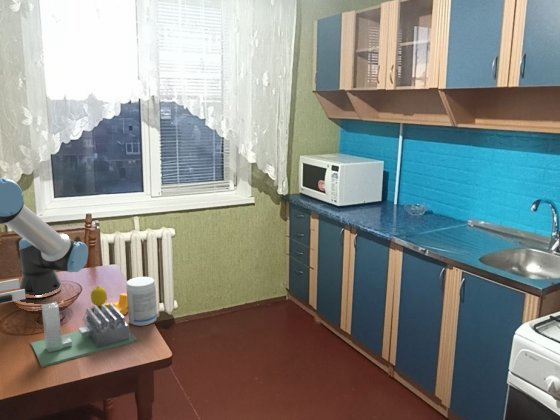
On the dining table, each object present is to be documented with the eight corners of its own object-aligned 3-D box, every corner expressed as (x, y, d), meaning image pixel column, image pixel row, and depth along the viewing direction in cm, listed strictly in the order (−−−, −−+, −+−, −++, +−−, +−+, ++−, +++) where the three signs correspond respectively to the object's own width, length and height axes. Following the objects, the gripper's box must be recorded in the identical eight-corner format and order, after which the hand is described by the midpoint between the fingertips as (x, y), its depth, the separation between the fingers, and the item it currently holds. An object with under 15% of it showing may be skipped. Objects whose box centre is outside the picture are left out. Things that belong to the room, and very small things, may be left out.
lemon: (107, 302, 185) (106, 282, 183) (107, 308, 180) (106, 288, 178) (91, 304, 184) (90, 284, 182) (91, 310, 178) (89, 289, 177)
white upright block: (45, 347, 150) (41, 304, 147) (69, 341, 154) (66, 299, 151) (48, 352, 147) (44, 309, 144) (72, 346, 151) (69, 304, 148)
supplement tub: (162, 318, 173) (161, 279, 170) (143, 329, 165) (141, 288, 162) (142, 312, 178) (140, 274, 174) (122, 322, 170) (120, 282, 166)
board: (31, 344, 153) (31, 342, 153) (120, 322, 170) (120, 320, 170) (41, 367, 141) (41, 365, 141) (136, 340, 157) (136, 339, 157)
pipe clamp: (118, 309, 180) (118, 292, 179) (129, 310, 179) (128, 293, 178) (100, 322, 168) (99, 304, 167) (112, 323, 167) (111, 305, 166)
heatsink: (75, 333, 160) (73, 310, 158) (115, 323, 168) (113, 301, 166) (87, 351, 149) (85, 327, 147) (129, 339, 157) (128, 316, 155)
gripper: (-73, 305, 137) (17, 288, 150) (-71, 335, 120) (30, 313, 133) (-77, 280, 136) (14, 265, 149) (-75, 307, 119) (27, 288, 132)
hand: (21, 288), depth 141 cm, fingers open, 9 cm apart
